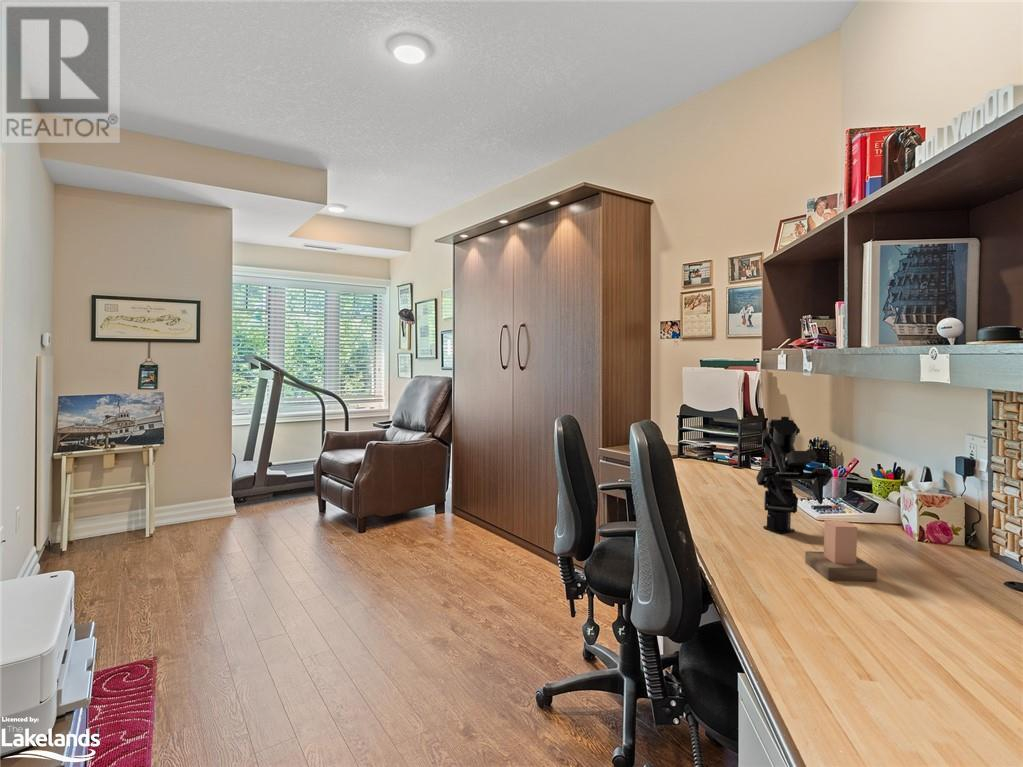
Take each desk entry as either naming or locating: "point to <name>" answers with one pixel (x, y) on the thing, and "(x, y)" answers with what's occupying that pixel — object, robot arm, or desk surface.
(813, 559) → the walnut plinth
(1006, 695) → the desk surface
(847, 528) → the terracotta block
